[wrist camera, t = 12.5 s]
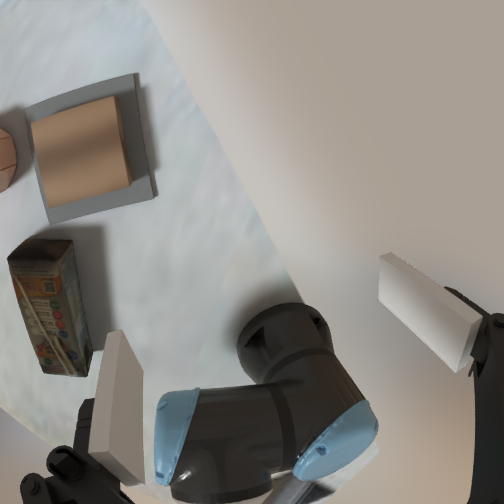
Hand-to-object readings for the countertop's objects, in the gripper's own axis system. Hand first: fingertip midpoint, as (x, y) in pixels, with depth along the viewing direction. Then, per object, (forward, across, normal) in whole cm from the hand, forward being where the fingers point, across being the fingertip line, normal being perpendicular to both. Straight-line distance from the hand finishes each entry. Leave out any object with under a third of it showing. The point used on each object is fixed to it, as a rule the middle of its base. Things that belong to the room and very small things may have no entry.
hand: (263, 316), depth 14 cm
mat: (+25, +12, -10) cm, 29 cm away
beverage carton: (+26, +24, +8) cm, 36 cm away
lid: (+24, +12, -10) cm, 29 cm away
